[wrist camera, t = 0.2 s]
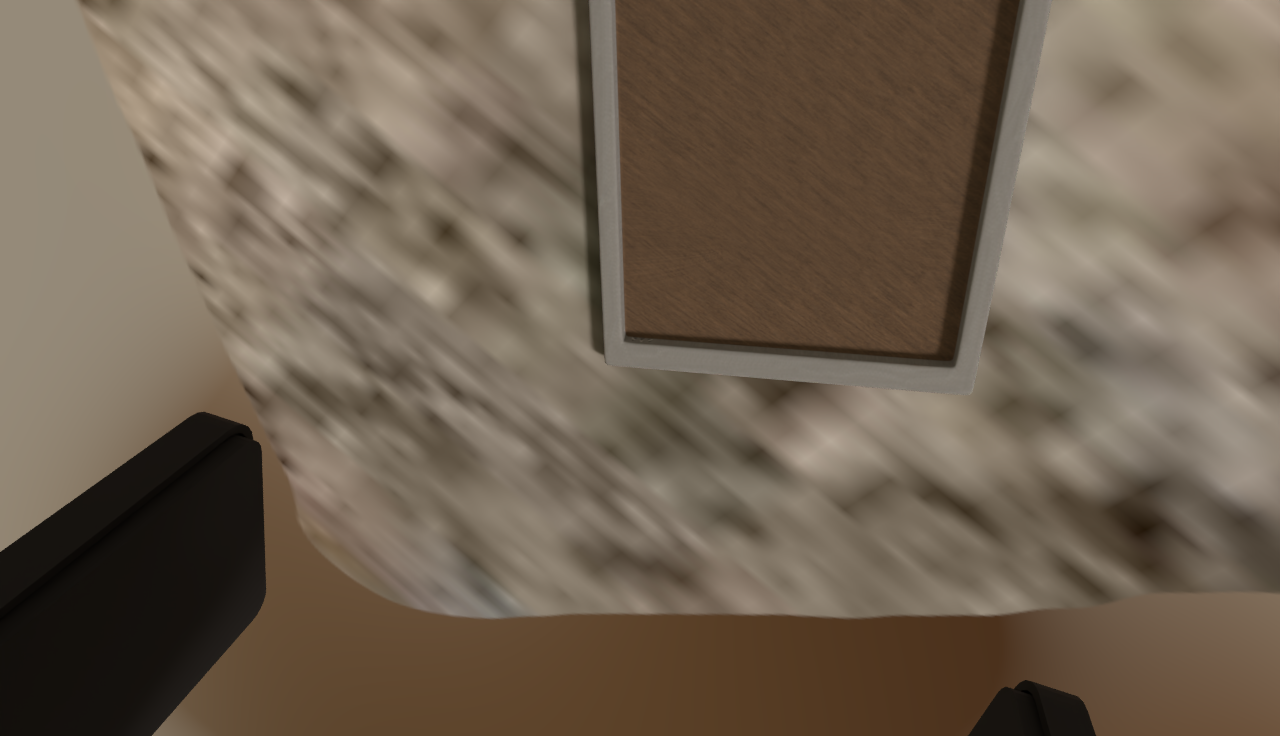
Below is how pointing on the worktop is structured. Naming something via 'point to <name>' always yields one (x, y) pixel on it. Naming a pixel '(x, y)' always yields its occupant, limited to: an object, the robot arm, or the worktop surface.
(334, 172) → the worktop surface
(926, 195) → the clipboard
